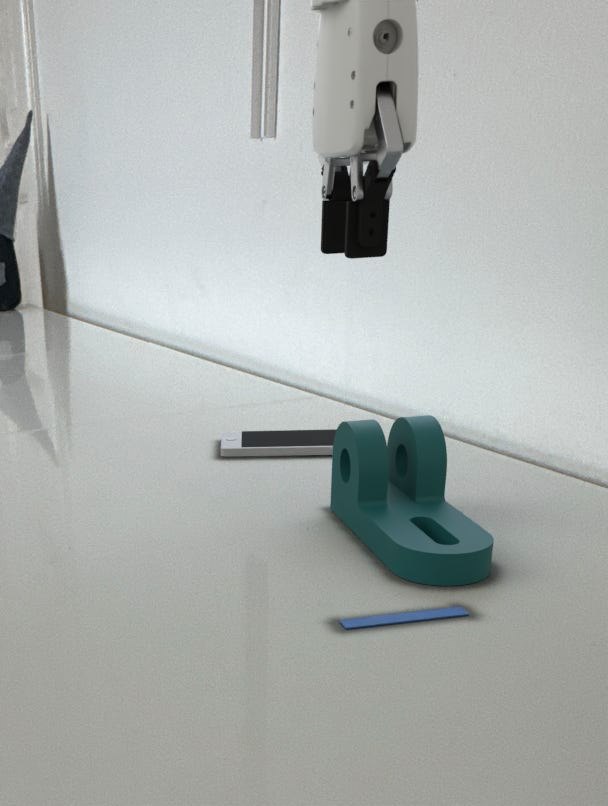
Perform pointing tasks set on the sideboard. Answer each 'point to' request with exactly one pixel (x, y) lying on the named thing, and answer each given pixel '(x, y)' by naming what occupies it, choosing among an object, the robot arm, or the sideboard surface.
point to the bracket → (406, 502)
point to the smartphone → (278, 442)
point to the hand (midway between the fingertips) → (352, 252)
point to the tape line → (403, 617)
